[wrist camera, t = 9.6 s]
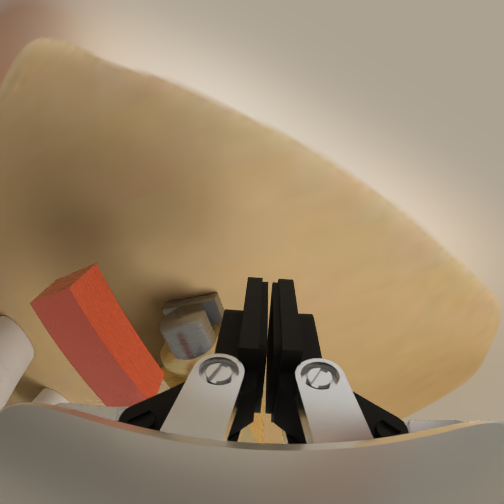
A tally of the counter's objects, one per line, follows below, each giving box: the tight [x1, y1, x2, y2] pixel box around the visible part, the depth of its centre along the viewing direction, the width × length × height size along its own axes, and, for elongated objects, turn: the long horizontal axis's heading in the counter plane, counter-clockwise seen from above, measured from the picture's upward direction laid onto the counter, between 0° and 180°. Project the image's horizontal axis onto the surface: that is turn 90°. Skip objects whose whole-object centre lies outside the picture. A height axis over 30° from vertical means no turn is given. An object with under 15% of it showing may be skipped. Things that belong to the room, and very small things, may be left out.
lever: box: [30, 264, 170, 411], centre depth 12 cm, size 4×15×2 cm, turn 20°
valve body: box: [159, 293, 265, 443], centre depth 19 cm, size 13×6×8 cm, turn 16°
